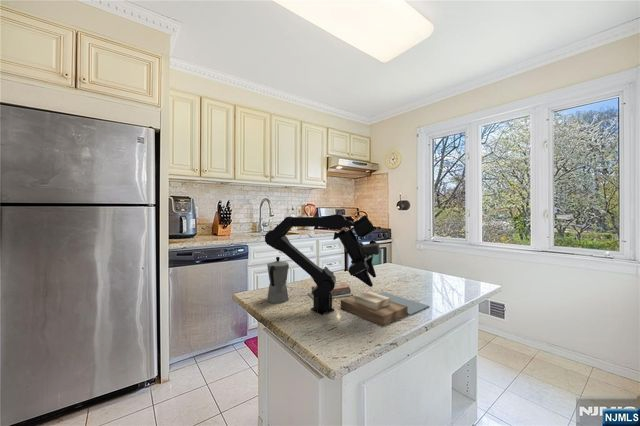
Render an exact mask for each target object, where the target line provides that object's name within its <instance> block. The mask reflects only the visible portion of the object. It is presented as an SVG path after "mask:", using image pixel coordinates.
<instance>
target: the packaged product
mask: <svg viewBox="0 0 640 426" xmlns="http://www.w3.org/2000/svg"><path fill="white" fill-rule="evenodd" d="M315 287H316V285H312V286H311V290H308V291H307V295H308V296H309V297H310V298H311V299H312V300H313V291H314V289H315ZM351 291H352V289H351V287H350V285H349V284H347V283H346V282H336V284H335V287H334V289H333V290H332V291H331V292H330V293H331V296H332V300H333V299H341V298H349V297H353V296H354V293H352V292H351Z"/></svg>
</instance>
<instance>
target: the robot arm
mask: <svg viewBox="0 0 640 426" xmlns="http://www.w3.org/2000/svg"><path fill="white" fill-rule="evenodd" d="M295 227H296V228H297V227H298V228H299V227H300V228H301V227H302V228H304V227H305V228H309V227H317V228H325V229H330V230H334V232H333V233H334V234H333V238H332V239H333V240H334V241H335V240H337V239H339V241H340V243H341V244H342V246H343V248H344V249H345V252H344V253H345V255H348V256H349V258H350V259H351V261H350V263H351V264H350V265H349V267H348V270H347V272H348V273H349V275H350V276H352V277H355V278H356V279H358V281H359V280H360V281H361V282H363V283H364V284H365V285H367V286H368V287H369V288H372V287H373V286H374V285H373V282H372V279H371V277H372V278H373V279H374V278H376V277H377V274H376V271H375V268H374V265H373V264H374V263H373V259H374V255H375V256H376V255H380V252H381V249H380V244H379V242H377V241H376V240H375V239H370V240H369V243H366V244H363V242H362V241H360V240H359V239H358V238H360V237H361V238H362V239H363V238H365V237H366V236H369V235H371V234H372V233H374V232H375V231H377V230H376V228H375V227H374V225H373V223H372V222H371V221H370V220H369V218H368V216H367V215H366V214H364V215H362V216H361V217H360V218H358V219H357V220H355V221H352V220H349V219H347V218H346V217H345V216H344V215H343V214H342V213H335V214H330V215H324V216H290V215H289V216H286V217H284V218H283V220H282V221H280V223H279V224H277V225H276V226H275V227H274V228H273V229H272V230H269V231H267V232H266V233H265V235H264V242H265V244H266V245H267V246H269V247H271V248H273V249H275V250H277V251H278V252H282V253H284V255H286V256H287V257H288V258H289V259H290V260H292V262H294V263H295V264H296V265H297V266H298V267H300V268H301V269H302V270H303V271H304V272H305V273H306V274H308V275H309V276H310V277H311V278H312V280H313V282H314V283H315V286H316V287H315V289H314V291H313V299H312V301H313V302H312V303H313V307H310V310H311V311H313V312H315V313H317V314H319V315H325V314H327V313H330V312H334V311H335V308H333V299H332V296H331V293H330V292H331V291H332V290H333V289H334V287H335V284H336V283H337V278H336V276H335V275H334V274H335V273H334V272H333V271H332V270H330V269H329V268H328V267H327V266H325V267H324V268H322V267H320V266H318V265H317V264H315V263H314V262H313V261H312V260H311V259H309V258H308V257H307V256H306V255H305V254H304V253H303V252H301V251H300V250H299V249H298V248H297V247H295V246H294V245H293V244H292V243H291V242H290V240H289V239H288V236H287V234H288V232H290V230H291V229H292V228H295ZM343 228H345V229H343ZM346 229H347V230H346ZM336 231H338V232H336ZM355 234H356V235H355ZM357 237H358V238H357ZM370 276H371V277H370Z"/></svg>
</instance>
